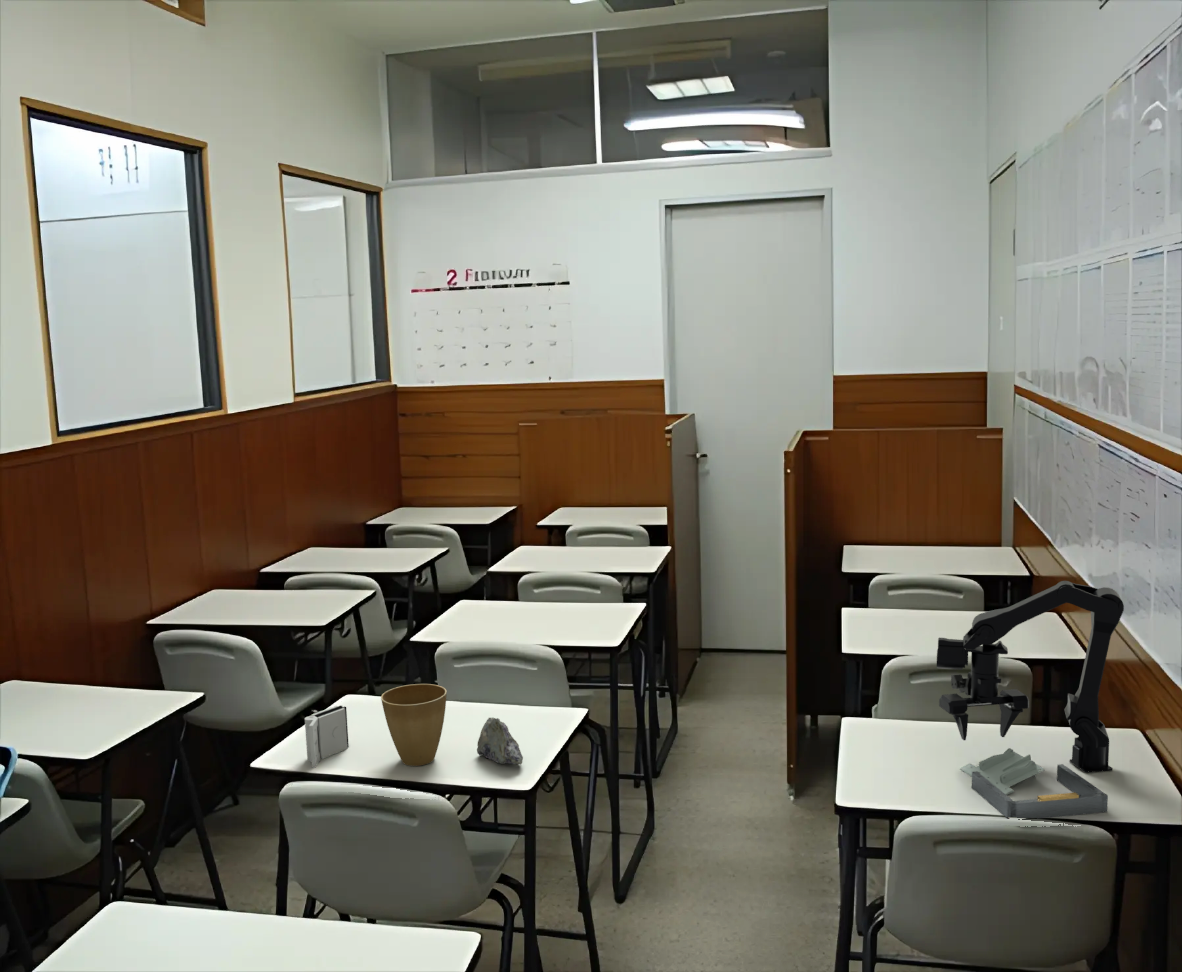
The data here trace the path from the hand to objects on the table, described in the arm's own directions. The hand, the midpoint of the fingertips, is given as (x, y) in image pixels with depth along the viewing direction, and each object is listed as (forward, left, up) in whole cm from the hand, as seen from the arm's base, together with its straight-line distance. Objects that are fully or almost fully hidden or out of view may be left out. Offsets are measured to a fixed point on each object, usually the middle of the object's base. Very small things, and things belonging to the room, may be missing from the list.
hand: (983, 738), depth 247 cm
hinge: (+147, -31, -5) cm, 151 cm away
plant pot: (+126, -24, -4) cm, 128 cm away
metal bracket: (+1, +12, -5) cm, 13 cm away
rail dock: (0, +23, -4) cm, 24 cm away
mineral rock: (+107, -19, -5) cm, 109 cm away
